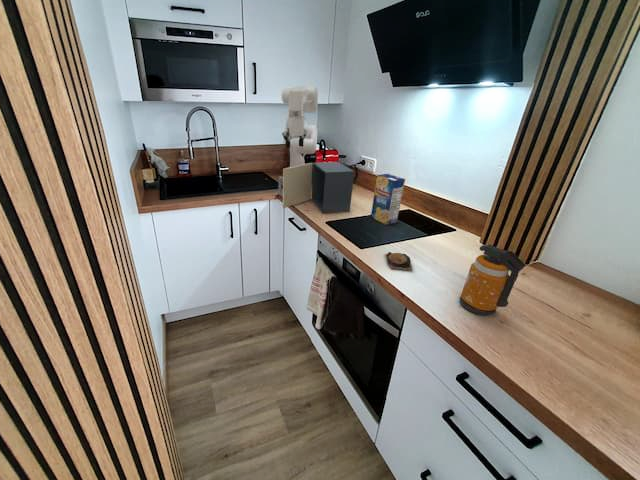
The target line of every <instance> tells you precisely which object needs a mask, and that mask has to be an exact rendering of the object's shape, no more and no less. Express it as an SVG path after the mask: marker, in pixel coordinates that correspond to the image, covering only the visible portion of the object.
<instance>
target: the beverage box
mask: <svg viewBox="0 0 640 480" xmlns="http://www.w3.org/2000/svg"><path fill="white" fill-rule="evenodd" d="M405 182H406V178H403V177H400V176H398V175H397V176H396V175H393V174H390V173H383V174H377V175H376V180H375V188H374V195H373V200H372V206H371V212H370V213H371V215H370V218H372V219H374V220H376V221H377V222H379V223H381V224H383V225H387V226H388V225H392V224H396V223H398V220H399V219H398V218H399V215H400V214H399V213H400V209H401V203H402V198H403V193H404V188H405V184H406V183H405Z"/></svg>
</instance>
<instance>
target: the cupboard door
mask: <svg viewBox="0 0 640 480" xmlns="http://www.w3.org/2000/svg"><path fill="white" fill-rule="evenodd" d="M313 163H314V162H308V163H305V164H304V165H299V166H294V167H290V166H289V167H285V168H282V176H278V192H277V193H278V195H279V196H282V209H286V208H289V207H292V206H294V205H298V204H301V203H304V202H307V201H310V200H311V196H312V179H313Z"/></svg>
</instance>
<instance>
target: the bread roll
mask: <svg viewBox="0 0 640 480" xmlns="http://www.w3.org/2000/svg"><path fill="white" fill-rule="evenodd" d="M385 257H386V258H385V259H386V261H387V264H388V266H389V268H390V270H391V269H392V270H402V271H411V272H412V271H413V267H412V264H411V263H412V260H411V257H410V256H409V255H408V254H406V253H401V252H393V253H392V252H391V251H389V252H388V253H386V254H385Z"/></svg>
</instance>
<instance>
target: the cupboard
mask: <svg viewBox="0 0 640 480" xmlns="http://www.w3.org/2000/svg"><path fill="white" fill-rule="evenodd" d="M312 163H313V167H312V184H311V199H310V200H311V201H312V202H313V203H314V205H315V206H316V207H317V208H318V209H319V211H321V213H322V214H334V213H349V212H350V211H351V203H352V195H353V189H354V179H355V170H354V169H352V168H350V167H349V166H347V165H345V164H343V163H342V162H339V161H325V162H323V161H322V162H312Z"/></svg>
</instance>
